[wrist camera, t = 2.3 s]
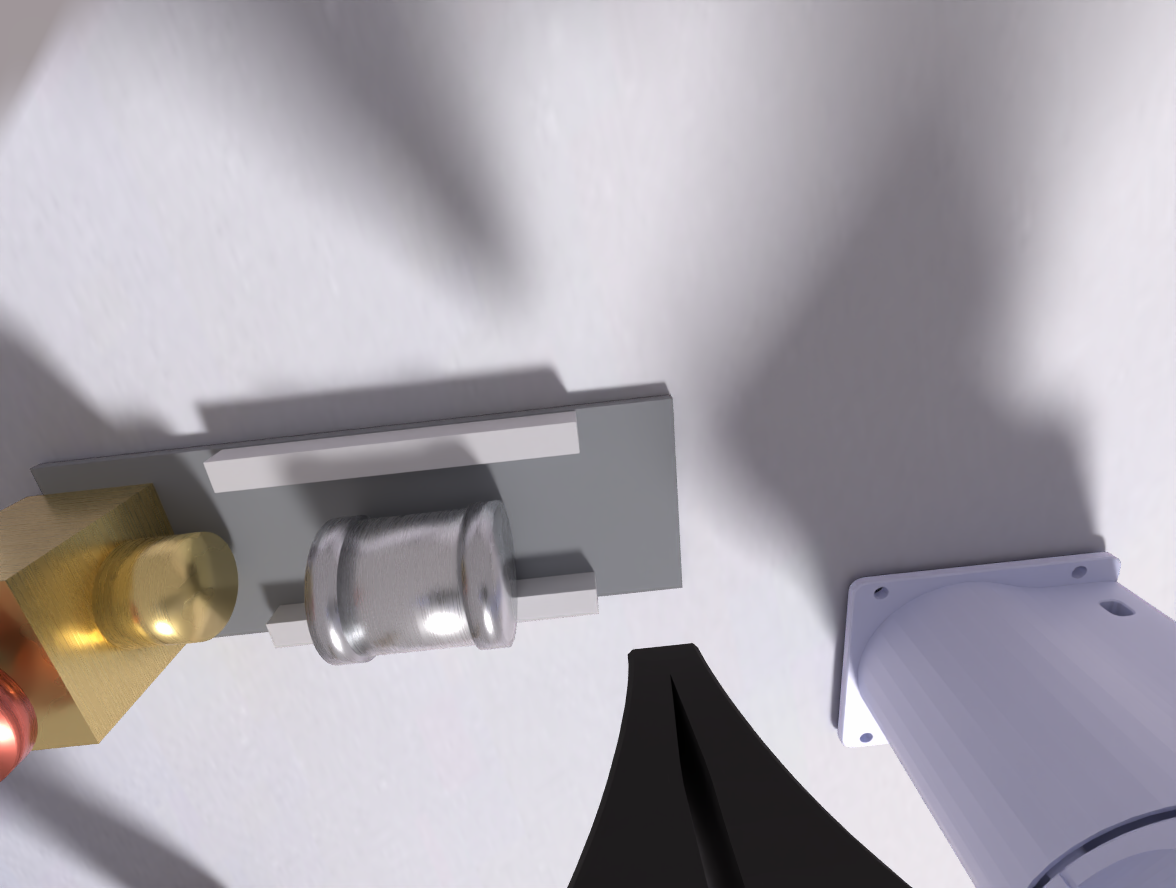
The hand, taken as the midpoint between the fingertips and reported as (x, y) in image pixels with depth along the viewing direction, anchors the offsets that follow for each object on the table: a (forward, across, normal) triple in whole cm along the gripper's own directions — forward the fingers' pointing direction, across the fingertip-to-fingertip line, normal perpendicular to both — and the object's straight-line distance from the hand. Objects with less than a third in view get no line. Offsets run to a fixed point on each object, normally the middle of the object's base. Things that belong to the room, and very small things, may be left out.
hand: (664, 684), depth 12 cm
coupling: (+8, +6, 0) cm, 10 cm away
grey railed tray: (+8, +8, 0) cm, 12 cm away
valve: (+8, +17, 0) cm, 19 cm away
